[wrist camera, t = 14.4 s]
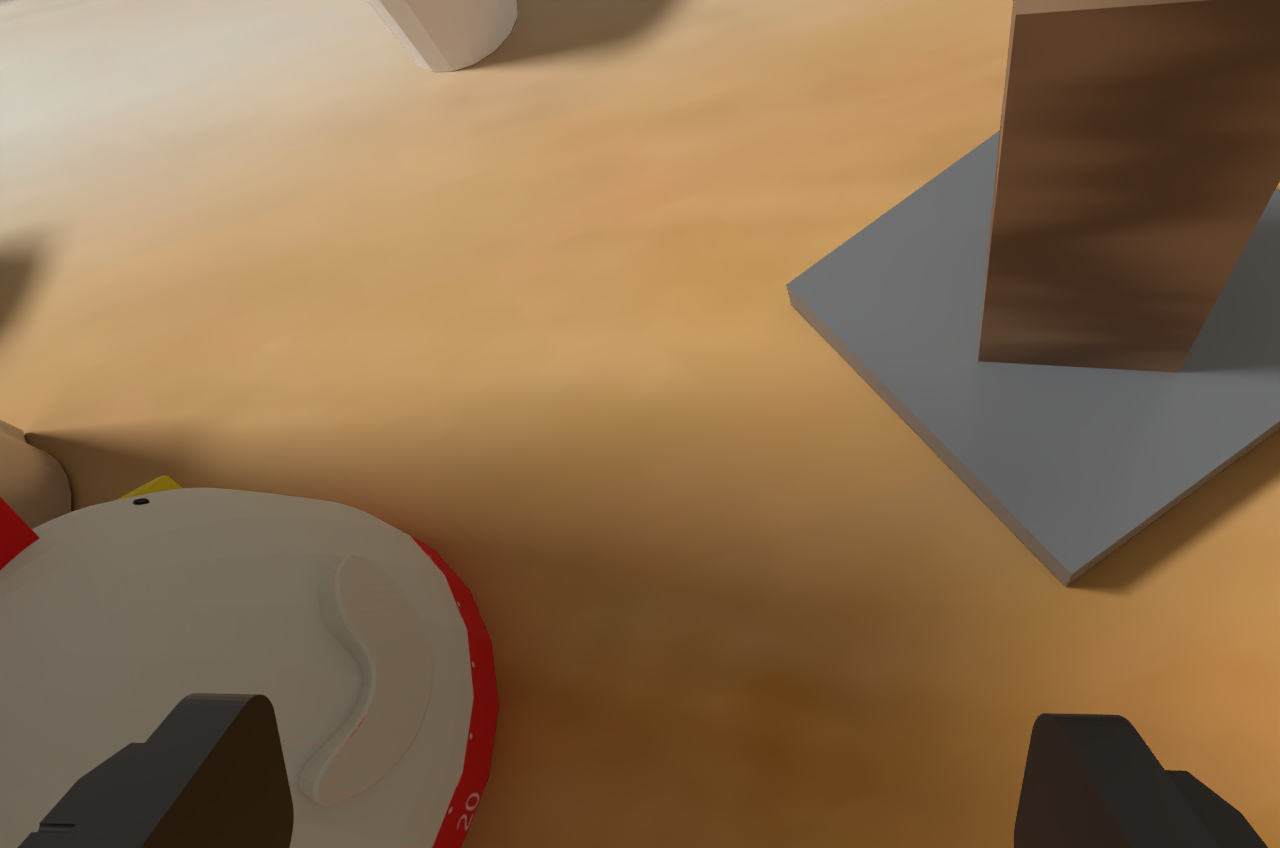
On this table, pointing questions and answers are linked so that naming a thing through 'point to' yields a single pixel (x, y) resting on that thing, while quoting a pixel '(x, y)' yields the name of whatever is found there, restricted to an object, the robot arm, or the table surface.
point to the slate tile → (1044, 376)
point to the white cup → (448, 29)
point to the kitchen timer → (247, 655)
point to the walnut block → (1126, 176)
